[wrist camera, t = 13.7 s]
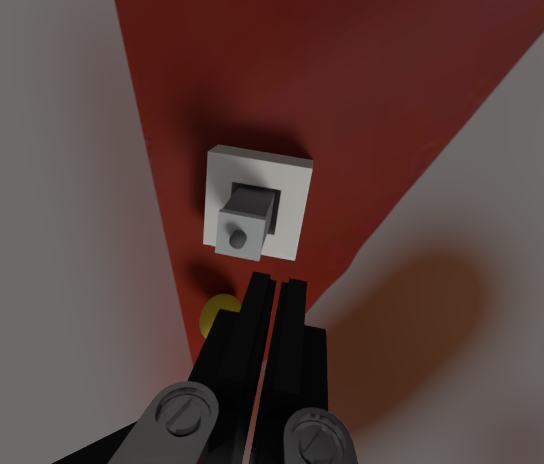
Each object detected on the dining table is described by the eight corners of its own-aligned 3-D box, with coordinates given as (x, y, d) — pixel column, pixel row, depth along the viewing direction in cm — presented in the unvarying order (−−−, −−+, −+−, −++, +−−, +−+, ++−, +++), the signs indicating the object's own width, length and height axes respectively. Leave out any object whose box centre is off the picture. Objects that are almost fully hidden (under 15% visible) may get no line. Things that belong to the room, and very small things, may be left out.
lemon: (251, 314, 48) (239, 356, 40) (215, 314, 48) (196, 356, 41) (245, 282, 45) (230, 320, 38) (207, 283, 46) (186, 321, 39)
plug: (242, 180, 38) (215, 215, 28) (278, 186, 38) (263, 225, 28) (238, 213, 40) (212, 257, 30) (272, 219, 39) (257, 266, 30)
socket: (218, 144, 38) (207, 151, 34) (313, 160, 37) (312, 168, 33) (213, 229, 42) (203, 243, 39) (297, 245, 42) (294, 260, 38)
